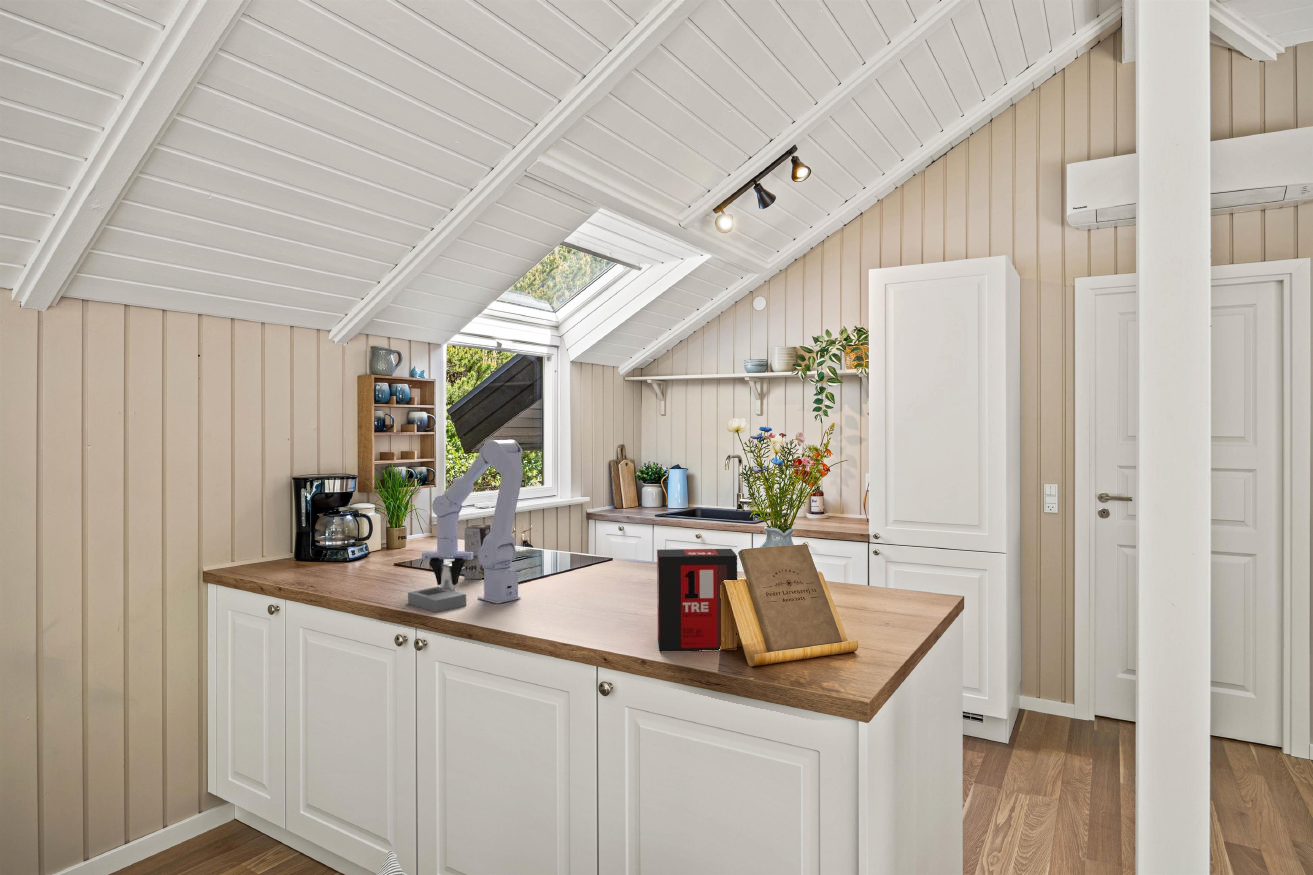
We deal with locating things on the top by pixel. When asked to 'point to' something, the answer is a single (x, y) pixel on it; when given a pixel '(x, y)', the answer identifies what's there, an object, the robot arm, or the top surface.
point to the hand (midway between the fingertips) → (447, 584)
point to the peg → (447, 576)
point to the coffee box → (475, 549)
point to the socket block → (436, 599)
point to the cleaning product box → (691, 597)
